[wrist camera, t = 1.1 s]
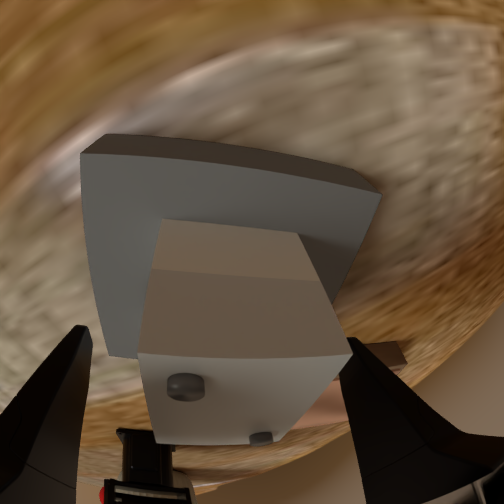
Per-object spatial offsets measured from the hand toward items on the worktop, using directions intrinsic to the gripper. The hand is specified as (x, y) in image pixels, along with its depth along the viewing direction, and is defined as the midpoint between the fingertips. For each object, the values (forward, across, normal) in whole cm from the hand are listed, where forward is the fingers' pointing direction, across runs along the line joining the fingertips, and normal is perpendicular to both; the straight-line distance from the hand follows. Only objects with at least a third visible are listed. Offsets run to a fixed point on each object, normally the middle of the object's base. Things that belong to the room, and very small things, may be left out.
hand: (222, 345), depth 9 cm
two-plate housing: (+2, 0, 0) cm, 2 cm away
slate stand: (+5, 0, 0) cm, 5 cm away
